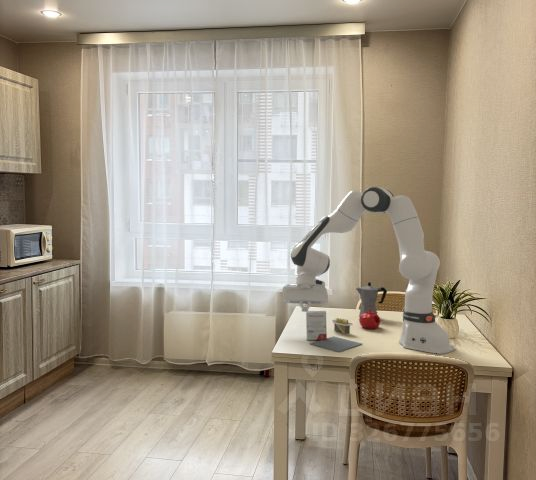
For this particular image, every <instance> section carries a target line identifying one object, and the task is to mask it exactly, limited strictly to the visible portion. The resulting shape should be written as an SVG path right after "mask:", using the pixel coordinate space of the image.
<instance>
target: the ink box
mask: <svg viewBox="0 0 536 480" xmlns="http://www.w3.org/2000/svg"><path fill="white" fill-rule="evenodd" d="M305 318H306V319H305V321H306V324H305V325H306V329H305V330H306V341H320V340H327V338H328V333H327V311H326V310H308V311H307V312H306V313H305Z"/></svg>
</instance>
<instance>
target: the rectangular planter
mask: <svg viewBox="0 0 536 480" xmlns="http://www.w3.org/2000/svg"><path fill="white" fill-rule="evenodd" d="M331 322H332V324H333V325H334V327H333V330H334V332H338V333H342V334H350V331H351V330H350V329H351V326H353V323H352V322H349V319H345V318H339V317H337V318H336V319H332V321H331Z"/></svg>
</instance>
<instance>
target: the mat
mask: <svg viewBox="0 0 536 480" xmlns="http://www.w3.org/2000/svg"><path fill="white" fill-rule="evenodd" d="M309 345H311V346H314V345H315V347H318V346H319V347H318V348H321V347H323V348H322V349H325V348H326V350H329V349H330V350H329V351H332V350H333V351H332V352H336V353H341V351H342V352H344V351H346V350H347V351H348V350H349V349H353V348H355V347H356V348H357V347H359V346H363V343H361V342H357V341H353V340H350V339H345V338H342V337H337V336H335V335H334V336H331V337H327V340H315V341H314V342H310V343H309Z"/></svg>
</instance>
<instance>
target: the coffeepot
mask: <svg viewBox="0 0 536 480" xmlns="http://www.w3.org/2000/svg"><path fill="white" fill-rule="evenodd" d="M355 290H356V291H357V292H358V294H359V296H360V301H361V305H360V310H359V315H358V317H359V318H360V316H361V315H362V314H364V312H365V311H366V312H365V313H367V312H368V313H369V308H371V312H375V314H377V315H378V311H377V310H378V309H377V305H376V302H377V300H378V299H377V298H378V294H379V292H382V296H381V298H380V301H378V304H383V303H384V301H385V298H386V295H387V292H388V290H387V289H386V288H385V287H383V286H381V287H380V286H379V287H378V286H377V287H376V286H372V282H370V281H369V282H367V285H365V286H361V287H357V288H355ZM376 312H377V313H376Z"/></svg>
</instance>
